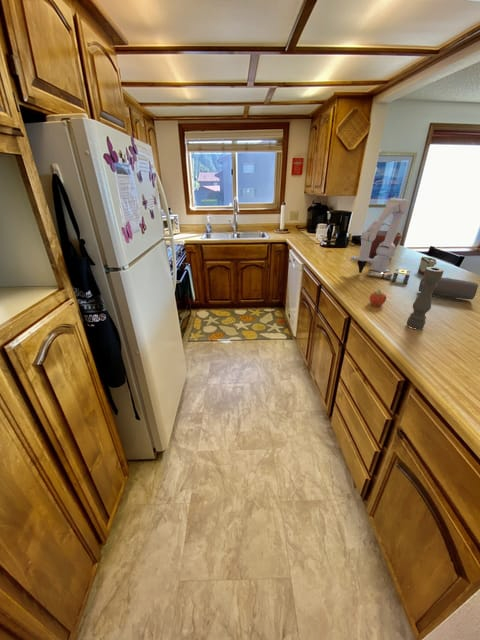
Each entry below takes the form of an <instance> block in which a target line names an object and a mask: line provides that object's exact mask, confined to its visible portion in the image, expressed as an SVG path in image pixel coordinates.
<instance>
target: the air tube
mask: <svg viewBox="0 0 480 640" xmlns="http://www.w3.org/2000/svg"><path fill="white" fill-rule="evenodd" d="M367 276H368V277H373V278H374V277H375V278H380V279H386V280H392V278H393V274H391V273H385V272H378V271H370V270H369V271H368V273H367Z"/></svg>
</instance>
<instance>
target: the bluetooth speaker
mask: <svg viewBox="0 0 480 640" xmlns="http://www.w3.org/2000/svg"><path fill="white" fill-rule="evenodd" d="M422 282H424V276H422V277H421V280H420V282H419V286H418V292H420V293H421V290H422ZM436 284H437V287H436V288H435V289H434V290H433V293H432V297H434V298H435V297H436V298H442V299H447V300H456V299H460V300H461V299H462V300H470V301H471V300H474V298H475V297H476V295H477V290H478V288H479V283H477V282H472V281H468V280H462V279H456V278H449V277H441V279H440V280H439V281H438V282H437V283H436Z"/></svg>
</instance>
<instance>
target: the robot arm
mask: <svg viewBox="0 0 480 640" xmlns="http://www.w3.org/2000/svg"><path fill="white" fill-rule="evenodd" d="M408 206H409V202H408V199H407V198H394V197H391V198H389V199H388V201H387V202H386V204H385V208H384V209H383V211H382V213H381V214H380V215H379V217H378V218H377V219H375V220H373V222H372V223H371V224H370V226H368V228H367V229H366V230H365V231H363V232H361V235H360V243H361V245H360V249H359V254H358V256H350V261H356V262H357V266H358V273H359V274H362V272H363V271H364V268H365V266H366V264H368V263H370V264H371V266H370V267H369V269H370V270H373V271H374V272H379V273H385V272H391V271H390V269H388V267H389V264H390V261H391V259H392V258H391V257H394V256H395V254H396V253H395V252H396V249H397V247H396V246H395V245H394V244H393V241H394V239H395V236H396V234H397V232H398V231H399V228H400V225H401V222H402V220H403V218H404V215H405V213H406V212H407V208H408ZM391 214H392V217H391V218H392V219H391V221H390V223H389V224H390V226H389V225H388V229H387V231H388V232H387V234H386V237H385V240H384V242H382V243H380V244H379V247H378V248H377V250H376V254H377V256H375V257H374V258H373V259H370V258H369V254H370V249H371V245H372V241H374V240H375V238H376V235H377V232H378V231H379V230H381V228H382V227H383V223H385V221H386V220H387V219H388V217H390V215H391ZM384 246H387V247H384ZM395 248H396V249H395ZM390 258H391V259H390Z"/></svg>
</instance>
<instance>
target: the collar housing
mask: <svg viewBox="0 0 480 640" xmlns="http://www.w3.org/2000/svg"><path fill="white" fill-rule="evenodd" d="M411 271H412V270H407V269H399V268H398V269H397V268H395V271H393V274H392V278H391V283H396V282H397V278H398V275H399V274H401V275H404V277H403V282H402V284H403V285H408V282H409V279H410V276H411V273H412V272H411Z"/></svg>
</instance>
